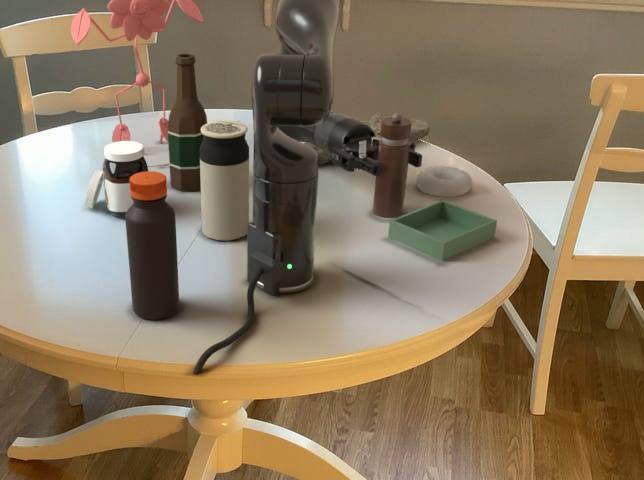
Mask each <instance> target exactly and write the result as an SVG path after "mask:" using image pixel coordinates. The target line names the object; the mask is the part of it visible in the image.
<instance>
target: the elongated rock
mask: <svg viewBox="0 0 644 480" xmlns="http://www.w3.org/2000/svg"><path fill="white" fill-rule="evenodd" d="M393 115H394V114H391V115H390V114H389V115H383V114H382V113H381V112H380V113H379V114H378V113H374V114H373V115H372V116H371V118H370V120H369V121H367V122H366V123H365V124H366V125H368V126H369V127H370V128H371V129H372V130H373V132H374V134H375V136H376V137H380V138H382V136H381V127H382V120H383V119H385V118H388V117H392V116H393ZM402 118H405V117H403V116H402ZM408 119H409V120H411V122H412V124H411V133H410V137H409V138H408V140H409V141H412V142H414V143H416V141H419V140H423V139H424V138H425V137H426V136H428V135H429V133H430V131H431V130H430V125H429V122H427V121H424V120H422V119H416V118H415V119H414V118H413V119H411V118H408ZM303 143H304V144H306V145H308V146H310V147H312V148H313V149H314V150H315V151H316V152H317V154H318V157H319V165H321V164H326V163H332V156H330V155H328V154H327V153H325V152H324V151H323V150H322V149H320V148H318V147H316V146H314V145H313V144H311V143H309V142H303Z"/></svg>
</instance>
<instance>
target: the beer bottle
mask: <svg viewBox="0 0 644 480" xmlns="http://www.w3.org/2000/svg"><path fill="white" fill-rule="evenodd" d="M175 57H176V58H175V62H174V63H175V64H176V66H177V67H176V97H175V101H174V103H173V105H172V106H171V108H170V111H169V115H168V119H167V120H168V142H167V143H168V159H169V160H168V161H169V162H168V164H169V179H170V186H171V188H172V189H175V190H177V191H179V192H199V191H201V178H200V146H201V144H202V142H203V140H204V139H203V134H202V133H201V127H202V126H203V125H205V124H207V123H208V117H207V116H208V115H207V113H206V111H205V108H204V106H203V104H202V103H201V102H200V100H199V97H198V93H197V83H196V80H197V79H196V69H195V64H196V61H197V59H196V57H195V55H194V54H191V53H180V54H178V55H177V54H176V56H175Z"/></svg>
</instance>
